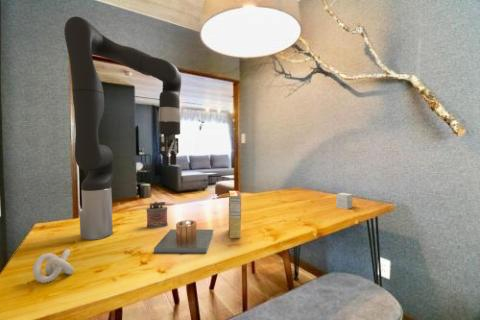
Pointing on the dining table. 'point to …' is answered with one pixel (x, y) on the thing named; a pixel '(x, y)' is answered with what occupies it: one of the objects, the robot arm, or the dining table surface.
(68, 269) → the knot
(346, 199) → the skincare box
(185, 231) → the wooden tube
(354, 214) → the dining table surface
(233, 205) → the candy box
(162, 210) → the lighter
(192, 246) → the base
